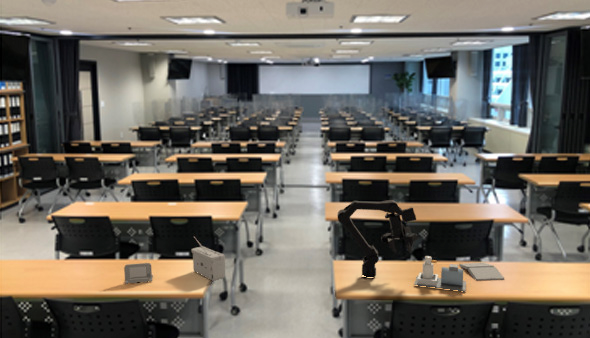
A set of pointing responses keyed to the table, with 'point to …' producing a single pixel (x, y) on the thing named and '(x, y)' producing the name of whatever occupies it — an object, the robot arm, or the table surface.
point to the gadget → (482, 271)
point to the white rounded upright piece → (428, 268)
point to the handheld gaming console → (138, 273)
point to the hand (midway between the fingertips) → (402, 253)
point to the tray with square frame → (445, 279)
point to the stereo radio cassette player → (208, 263)
